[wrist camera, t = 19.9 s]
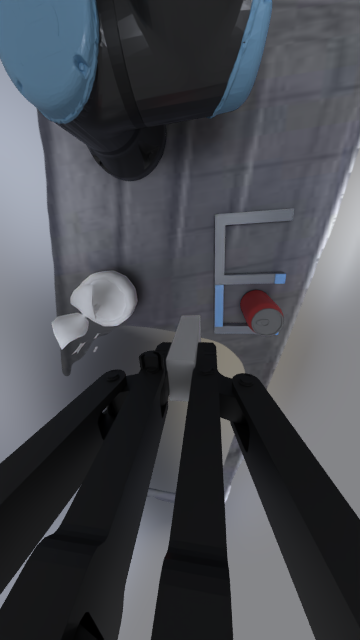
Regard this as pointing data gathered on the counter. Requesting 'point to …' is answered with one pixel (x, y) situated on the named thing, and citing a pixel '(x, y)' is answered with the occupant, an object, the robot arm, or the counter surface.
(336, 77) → the counter surface
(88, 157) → the counter surface
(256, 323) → the beer can
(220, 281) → the duct comb
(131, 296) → the potted plant
